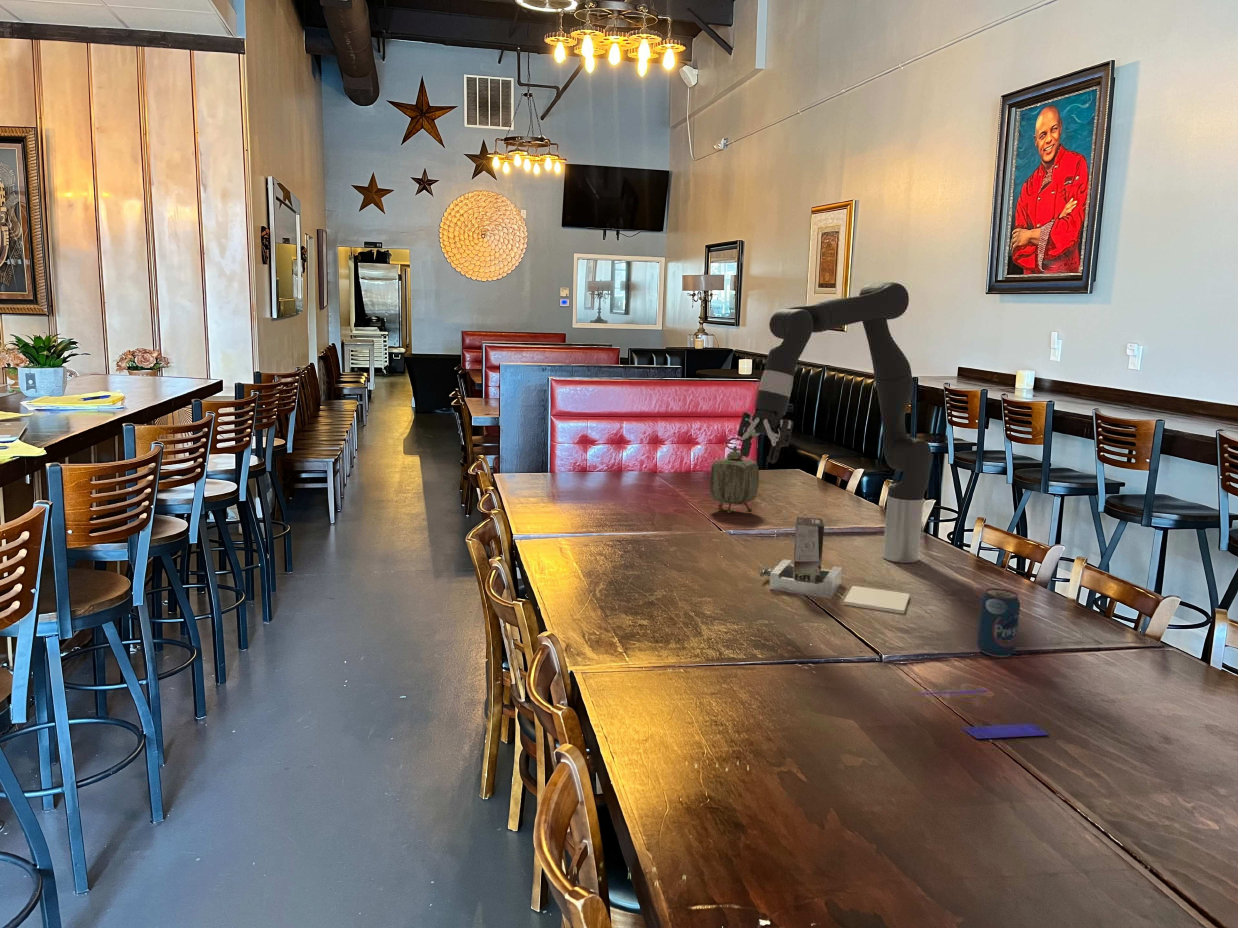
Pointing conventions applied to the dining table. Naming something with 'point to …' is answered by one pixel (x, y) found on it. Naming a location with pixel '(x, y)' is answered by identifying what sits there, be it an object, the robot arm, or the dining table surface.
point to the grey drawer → (784, 580)
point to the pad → (877, 599)
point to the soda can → (998, 622)
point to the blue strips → (1001, 729)
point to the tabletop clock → (734, 479)
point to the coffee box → (808, 549)
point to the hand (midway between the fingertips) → (757, 459)
